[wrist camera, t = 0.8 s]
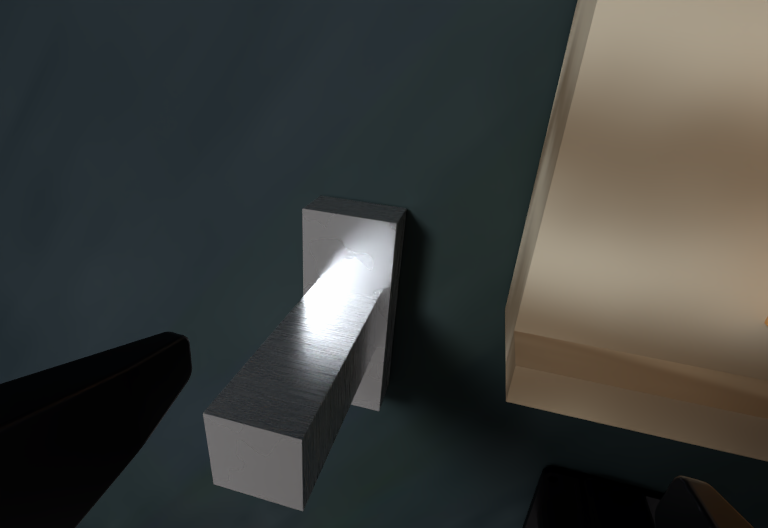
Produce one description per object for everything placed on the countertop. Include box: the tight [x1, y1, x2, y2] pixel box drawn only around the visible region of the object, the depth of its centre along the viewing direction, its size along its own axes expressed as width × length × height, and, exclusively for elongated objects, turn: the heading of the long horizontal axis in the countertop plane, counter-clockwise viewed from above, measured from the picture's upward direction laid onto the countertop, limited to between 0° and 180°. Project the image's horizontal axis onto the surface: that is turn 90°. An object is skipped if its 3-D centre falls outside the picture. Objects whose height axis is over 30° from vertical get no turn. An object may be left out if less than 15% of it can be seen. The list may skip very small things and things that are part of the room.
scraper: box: [203, 196, 406, 511], centre depth 17 cm, size 10×4×10 cm, turn 176°
